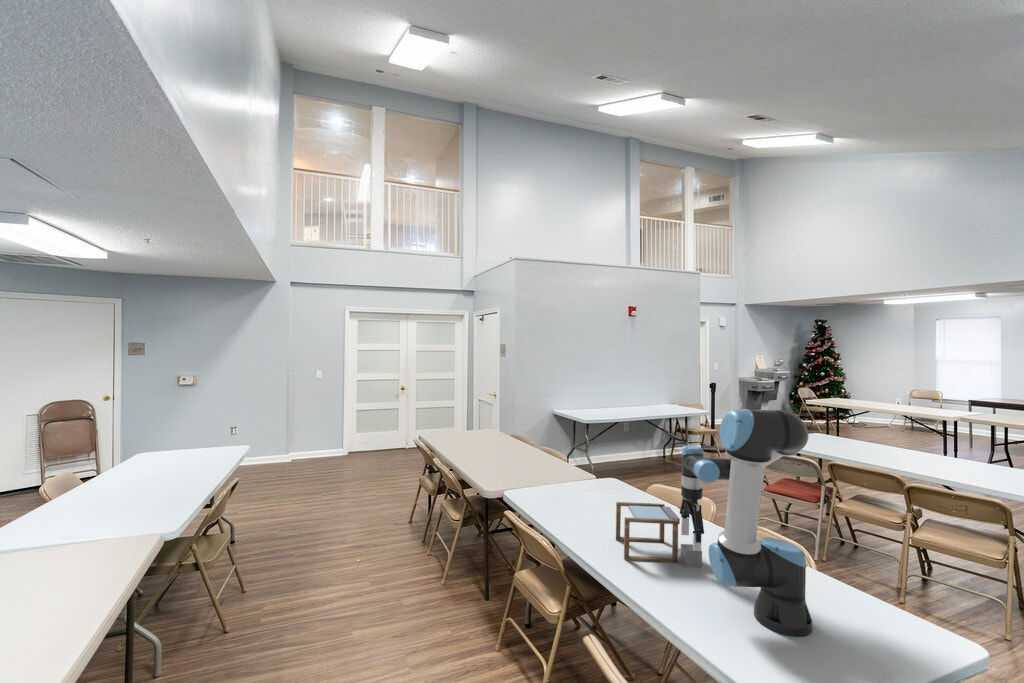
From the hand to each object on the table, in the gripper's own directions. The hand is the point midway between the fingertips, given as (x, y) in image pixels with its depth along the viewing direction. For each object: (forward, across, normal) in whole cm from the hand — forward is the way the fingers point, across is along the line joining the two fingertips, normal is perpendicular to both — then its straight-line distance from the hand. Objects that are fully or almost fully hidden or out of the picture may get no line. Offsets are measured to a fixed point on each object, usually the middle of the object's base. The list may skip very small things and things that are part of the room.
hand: (690, 542), depth 174 cm
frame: (+8, +9, +15) cm, 19 cm away
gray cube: (+8, -1, 0) cm, 8 cm away
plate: (-6, +10, +12) cm, 16 cm away
